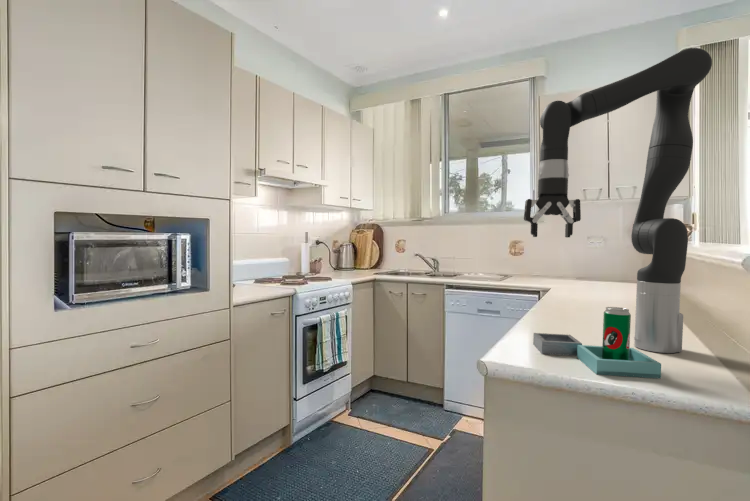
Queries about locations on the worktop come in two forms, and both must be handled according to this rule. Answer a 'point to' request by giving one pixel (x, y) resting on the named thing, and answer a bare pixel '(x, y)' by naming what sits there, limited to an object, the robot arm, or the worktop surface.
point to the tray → (619, 363)
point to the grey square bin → (556, 344)
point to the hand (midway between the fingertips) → (551, 237)
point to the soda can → (616, 333)
